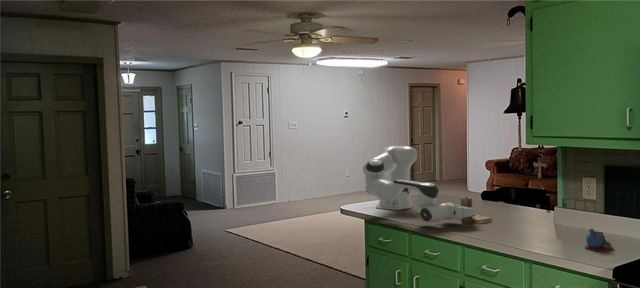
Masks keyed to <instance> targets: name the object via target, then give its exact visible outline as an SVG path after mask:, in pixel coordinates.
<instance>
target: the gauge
mask: <svg viewBox="0 0 640 288" xmlns="http://www.w3.org/2000/svg"><path fill="white" fill-rule="evenodd" d="M472 199H473V198H472V197H471V198H470V197H468V196H465V197H463V198H460V206H464V207H472V208H473V202H472V201H473V200H472ZM476 215H477V214H476V213H474V215H473V216H470V217H465V218H462V219H461V220H460V223H461V224H467V225H468V224H473V222H472V217H474V216H476Z"/></svg>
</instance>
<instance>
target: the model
mask: <svg viewBox="0 0 640 288" xmlns="http://www.w3.org/2000/svg"><path fill="white" fill-rule="evenodd" d="M585 240H586V244H587V245H585V246H584V249H585V250H586V251H591V252H595V253H597V252H598V253H603V252H605V253H606V252H610V251H613V250H614V248H613V247H614V246H612V243H611V242H610V241H607V239H606V236H605V235H604V232H602V231H597V230H595V229H594V228H589V234H587V236H586V238H585Z"/></svg>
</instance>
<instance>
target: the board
mask: <svg viewBox="0 0 640 288" xmlns="http://www.w3.org/2000/svg"><path fill="white" fill-rule="evenodd" d="M459 220H460V221H461V219H459ZM492 220H493V219H492V217H488V216H484V215H478V214H476V216H474V217H472V224H473V223H475V224H478V225H480V224H487V223H492Z"/></svg>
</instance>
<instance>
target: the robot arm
mask: <svg viewBox="0 0 640 288" xmlns="http://www.w3.org/2000/svg"><path fill="white" fill-rule="evenodd" d="M417 159H418V152H417V149H416V148H414V147H412V146H409V145H388V146H385V147H383V149H382V150H381V153H380V154H377V155H376V156H374V157H372V158H370V159H369V160H368V161H366V162H365V163H364V165H363V167H362V172H363V174H364V175H365V176H364V177H365V189H366V192H367V193H368V194H369V195H371V196H373V197H375V198H378V199H379V201H378V202H379V204H376V205H375V208H376V209H383V210H393V211H394V210H395V211H397V210H398V211H400V210H406V209H411V208H413V205H412V202H411V197H410V193H411V191H410V190H415V191H417V193H418V194H417V200H416V204H415V212H416V213H417V214H418V215H419V216H420V218H421V220H422V221H424V222H426V223H436V222H441V221H449V220H460V219H462V218H465V217H470V216H473V215H474V214H475V208H474V207H473V206H472V207H464V206H461V205H460V204H459V205H457V204H454V203H453V202H451V201H450V202H444V203H443V202H442V203H440V204H436V203H437V198H438V195H439V192H440V191H439V188H438V186H437V185H436V184H435V183H434V182H427V181H417V180H412V179H409V177H410V176H409V175H410V170H411V167H412V165H413V164H414V163H415V162H416V161H417ZM395 164H396V166H395V168H394V165H395ZM392 168H394V170H392V171H391V169H392ZM389 170H390V171H391V173H390V181H389V180H387V179H385V173H386V172H388V171H389Z"/></svg>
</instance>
